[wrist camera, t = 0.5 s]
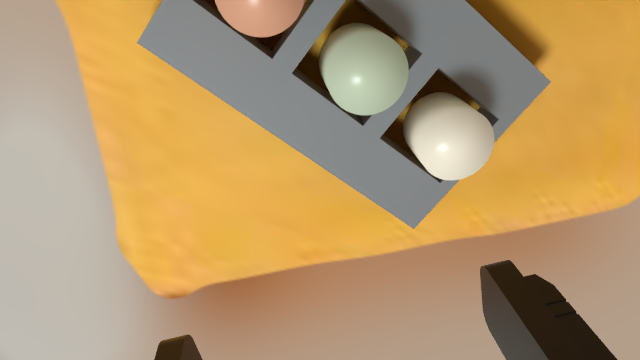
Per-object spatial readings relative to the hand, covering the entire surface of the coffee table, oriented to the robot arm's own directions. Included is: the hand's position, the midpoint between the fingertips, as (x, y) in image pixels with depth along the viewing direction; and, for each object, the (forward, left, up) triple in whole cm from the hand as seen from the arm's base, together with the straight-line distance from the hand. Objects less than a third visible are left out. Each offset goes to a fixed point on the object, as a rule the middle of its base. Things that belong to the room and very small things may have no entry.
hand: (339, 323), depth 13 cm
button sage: (-5, +1, -21) cm, 21 cm away
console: (-5, +1, -23) cm, 24 cm away
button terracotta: (-5, -6, -21) cm, 22 cm away
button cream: (-5, +9, -21) cm, 23 cm away
